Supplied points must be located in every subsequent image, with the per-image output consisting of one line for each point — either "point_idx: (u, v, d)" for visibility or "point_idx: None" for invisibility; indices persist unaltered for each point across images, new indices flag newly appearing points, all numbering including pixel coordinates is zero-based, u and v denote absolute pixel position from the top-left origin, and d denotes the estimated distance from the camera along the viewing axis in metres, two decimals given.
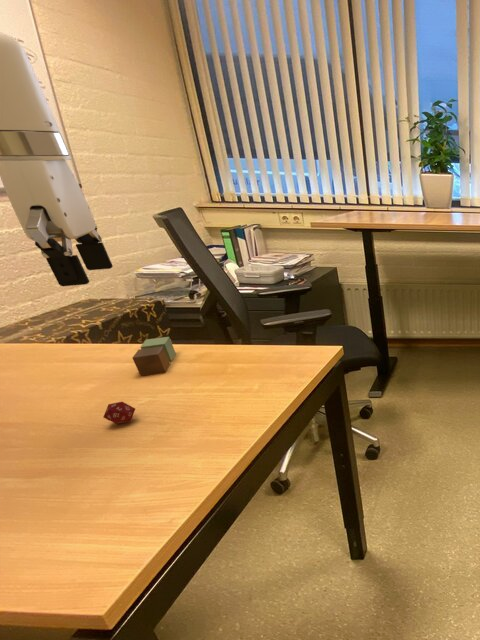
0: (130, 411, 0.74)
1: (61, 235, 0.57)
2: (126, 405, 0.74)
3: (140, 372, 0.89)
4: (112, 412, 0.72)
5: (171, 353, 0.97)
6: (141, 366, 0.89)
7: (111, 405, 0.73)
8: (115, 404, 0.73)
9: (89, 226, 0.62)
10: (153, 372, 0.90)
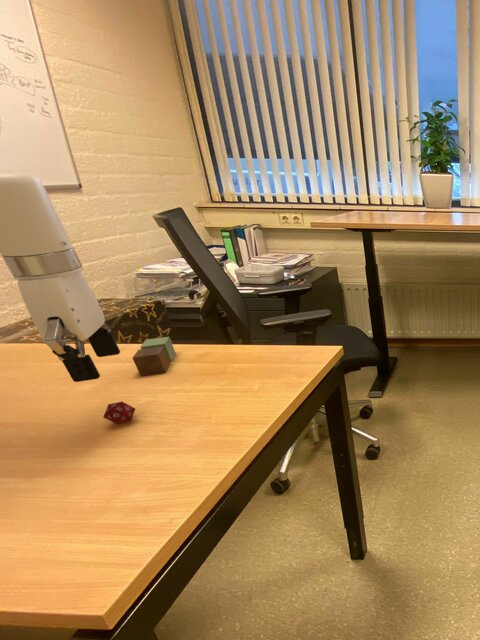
0: (130, 411, 0.74)
1: (75, 339, 0.63)
2: (126, 405, 0.74)
3: (140, 372, 0.89)
4: (112, 412, 0.72)
5: (171, 353, 0.97)
6: (141, 366, 0.89)
7: (111, 405, 0.73)
8: (115, 404, 0.73)
9: (99, 323, 0.68)
10: (153, 372, 0.90)
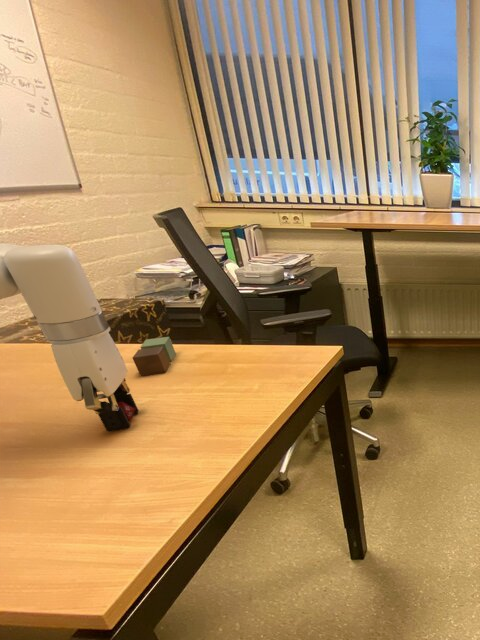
0: (130, 411, 0.74)
1: (107, 396, 0.69)
2: (126, 405, 0.74)
3: (140, 372, 0.89)
4: None
5: (171, 353, 0.97)
6: (141, 366, 0.89)
7: None
8: None
9: (122, 376, 0.73)
10: (153, 372, 0.90)
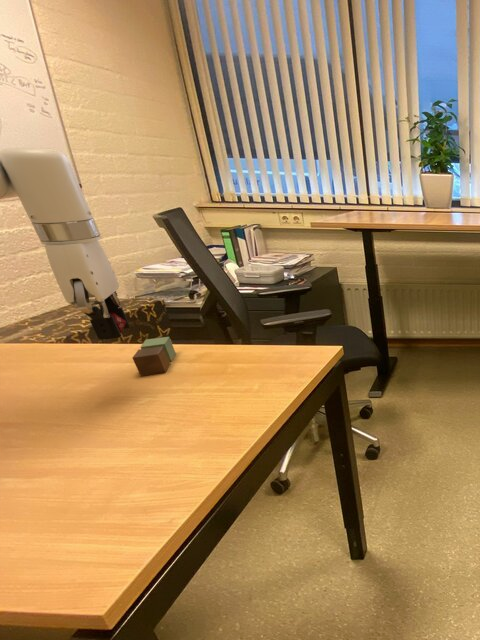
0: (121, 322, 0.77)
1: (98, 302, 0.73)
2: (117, 316, 0.77)
3: (140, 372, 0.89)
4: None
5: (171, 353, 0.97)
6: (141, 366, 0.89)
7: None
8: None
9: (114, 287, 0.76)
10: (153, 372, 0.90)
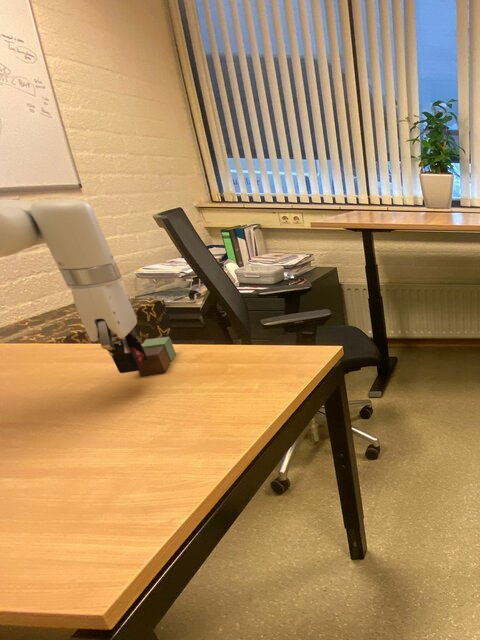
0: (140, 356, 0.82)
1: (119, 339, 0.77)
2: (136, 350, 0.82)
3: (140, 372, 0.89)
4: None
5: (171, 353, 0.97)
6: (141, 366, 0.89)
7: None
8: None
9: (133, 323, 0.81)
10: (153, 372, 0.90)
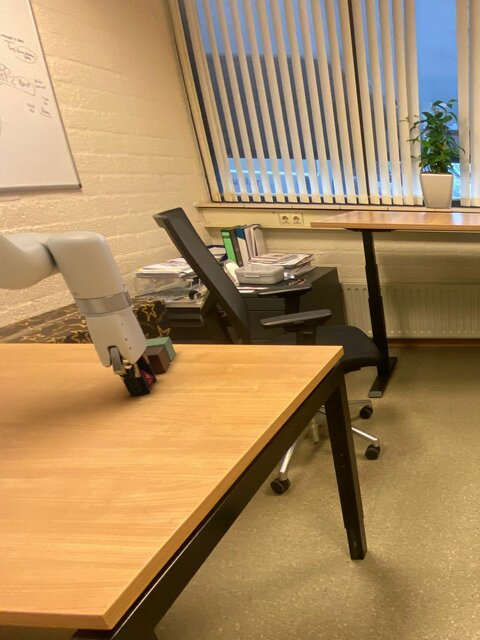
0: (150, 379, 0.85)
1: (131, 364, 0.80)
2: (146, 373, 0.84)
3: None
4: None
5: (171, 353, 0.97)
6: None
7: None
8: None
9: (143, 348, 0.83)
10: None
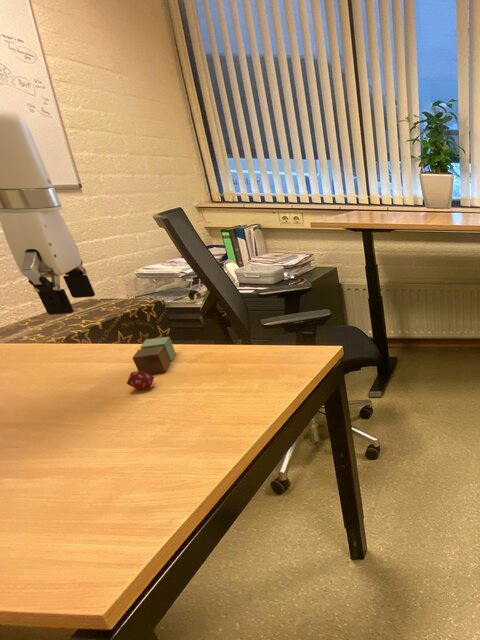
0: (150, 379, 0.84)
1: (51, 273, 0.67)
2: (146, 373, 0.84)
3: None
4: (135, 379, 0.83)
5: (171, 353, 0.97)
6: (141, 366, 0.89)
7: (133, 373, 0.83)
8: (137, 372, 0.83)
9: (75, 262, 0.72)
10: (153, 372, 0.90)
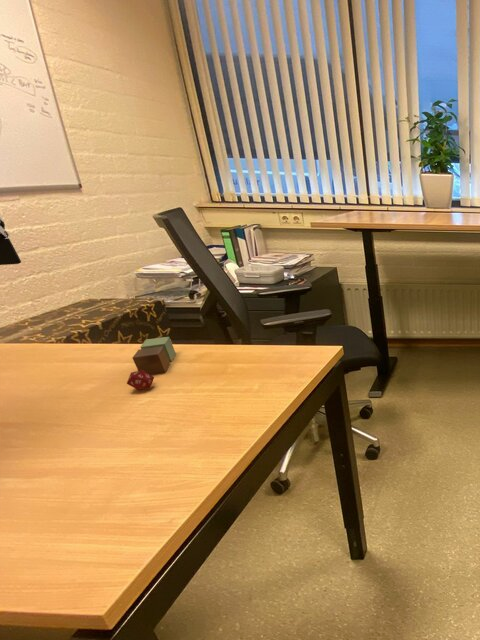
0: (150, 379, 0.84)
1: None
2: (146, 373, 0.84)
3: None
4: (134, 379, 0.82)
5: (171, 353, 0.97)
6: (141, 366, 0.89)
7: (133, 373, 0.83)
8: (137, 372, 0.83)
9: None
10: (153, 372, 0.90)
